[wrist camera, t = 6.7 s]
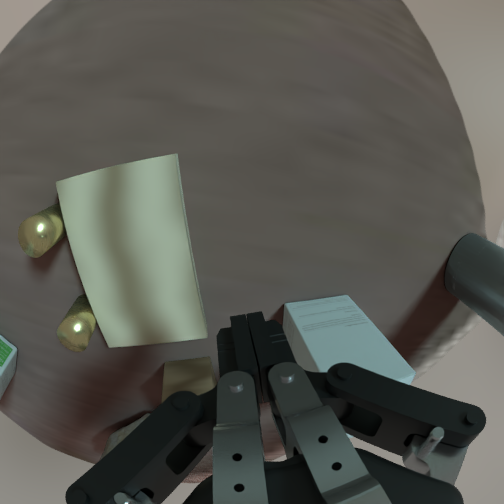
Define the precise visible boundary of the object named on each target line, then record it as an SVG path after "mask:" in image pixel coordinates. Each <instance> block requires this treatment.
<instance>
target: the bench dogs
mask: <svg viewBox="0 0 504 504" xmlns="http://www.w3.org/2000/svg"><path fill="white" fill-rule="evenodd" d="M66 235H67V231H66V227H65V223H64V219H63V215H62V211H61V206H60V203H57V204H54V205H52V206H50V207H48V208H46V209H44V210H42V211H41V212H39V213H37V214H35V215H33V216H31V217H29V218H28V219H26V220H24V221H23V222H22V223H21V225H20V227H19V230H18V239H19V243H20V245H21V247H22V249H23V251H24V252H25V253H26V254H27V255H29V256H31V257H34V258H38V257H40V256H42V255H43V254H44V253H45V252H47V251H48V250H49V249H50V248H51V247H53V246H54V245H55V244H56V243H57V242H59V241H60V240H61V239H62V238H64V237H65V236H66ZM97 323H98V322H97V320H96V317H95V315H94V312H93V310H92V307H91V305H90V302H89V300H88V297H87V295H86V294H83V295H80V296H79V297H78V298H77V299H76V301H75V302H74V304H73V305H72V307H71V308H70V310H69V311H68V313H67V315H66V316H65V318H64V319H63V321H62V323H61V324H60V326H59V328H58V330H57V335H58V338H59V340H60V342H61V343H62V344H63V345H64V346H65V347H66V348H68V349H70V350H72V351H75V352H81V351H84V350H85V349H86V347H87V345H88V343H89V340H90V338H91V336H92V334H93V332H94V329H95V327H96V325H97Z"/></svg>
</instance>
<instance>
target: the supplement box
mask: <svg viewBox="0 0 504 504" xmlns="http://www.w3.org/2000/svg"><path fill="white" fill-rule="evenodd" d="M283 330H284V333H285V335H286V338H287V340H288V342H289V345H290V347H291V350H292V352H293V355H294V357H295V360H296V362H297V364H298V365H300V366H301V367H302V368H303V369H304V370H307V371H310V372H327V371H328V369H329V368H330V367H331V366H333V365H335V364H337V363H342V362H346V363H351V364H354V365H357V366H359V367H362V368H364V369H367V370H370V371H372V372H375V373H377V374H380V375H383V376H386V377H388V378H391V379H394V380H397V381H399V382H402V383H405V384H408V385H410V384H411V382H412V380H413V378H414V376H415V374H416V372H415V371H414V370H413V369H412V368H411V367H410V365H409V364H408V363H407V362H406V361H405V360H404V358H403V357H402V356H401V355H400V354H399V353H398V351H397V350H396V349H395V348H394V347H393V346H392V345H391V343H390V342H389V341H388V340H387V339H386V338H385V336H384V335H383V334H382V333H381V332H380V331H379V330H378V328H377V327H376V326H375V325H374V324H373V323H372V322H371V321H370V319H369V318H368V317H367V316H366V315H365V314H364V313H363V312H362V310H361V309H360V308H359V307H358V306H357V305H356V304H355V303H354V302H353V301H352V300H351V298H350V297H349V296H348V295H343V296H336V297H330V298H323V299H316V300H309V301H301V302H293V303H286V304H284V316H283ZM346 434H347V433H346ZM347 436H348V438H351V437H354V436H351V435H349V434H347Z"/></svg>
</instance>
